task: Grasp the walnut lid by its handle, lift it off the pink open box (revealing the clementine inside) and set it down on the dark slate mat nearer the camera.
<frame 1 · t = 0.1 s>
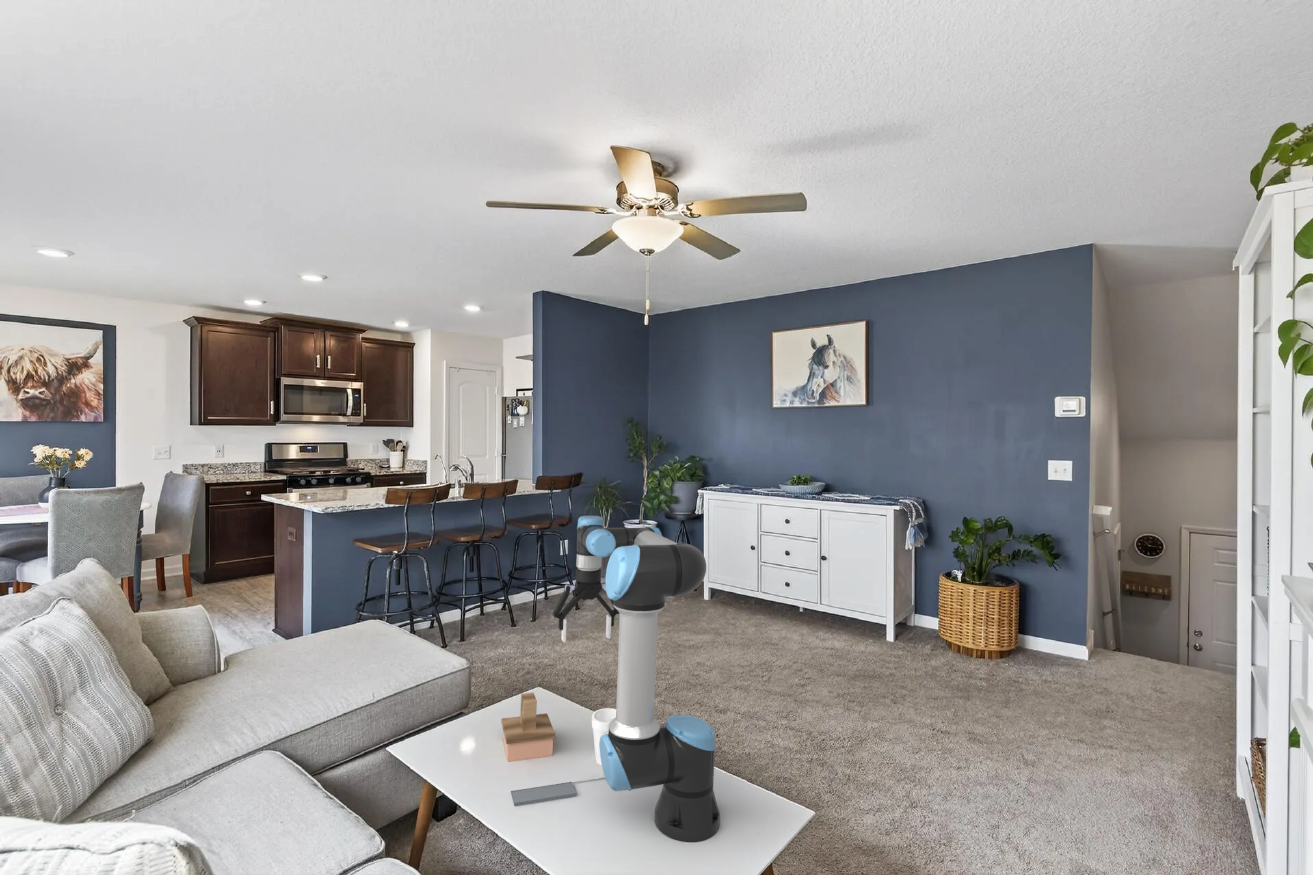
hand: (586, 638, 189), 28 cm above the table, fingers open, 13 cm apart
lid: (527, 730, 176), point 6 cm above the table, touching pink open box
pink open box: (526, 751, 176), on the table
clementine: (527, 747, 176), point 1 cm above the table, touching pink open box
mat: (540, 782, 161), on the table
foam cup: (607, 763, 172), on the table
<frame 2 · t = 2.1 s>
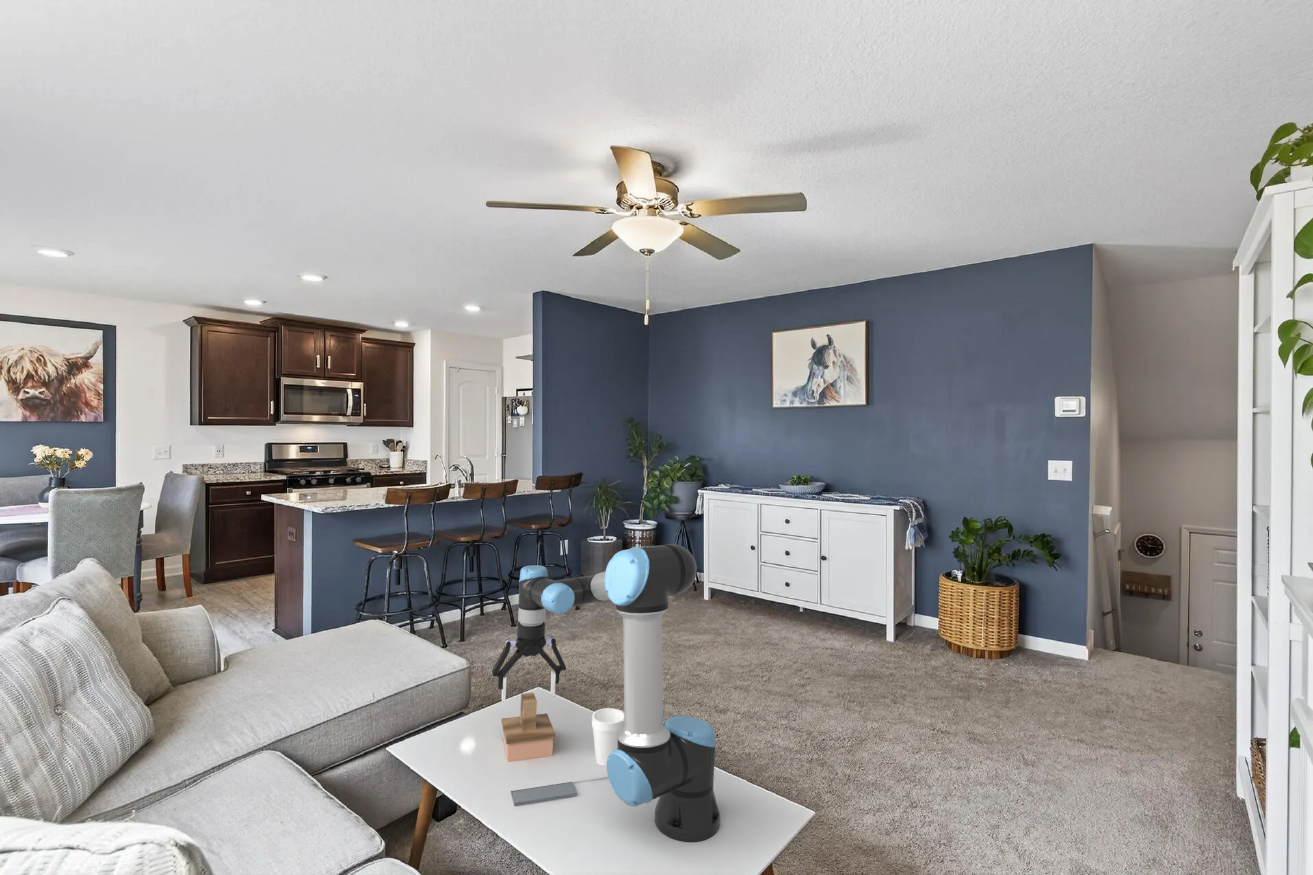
hand: (528, 697, 176), 15 cm above the table, fingers open, 13 cm apart
nothing on the table moved.
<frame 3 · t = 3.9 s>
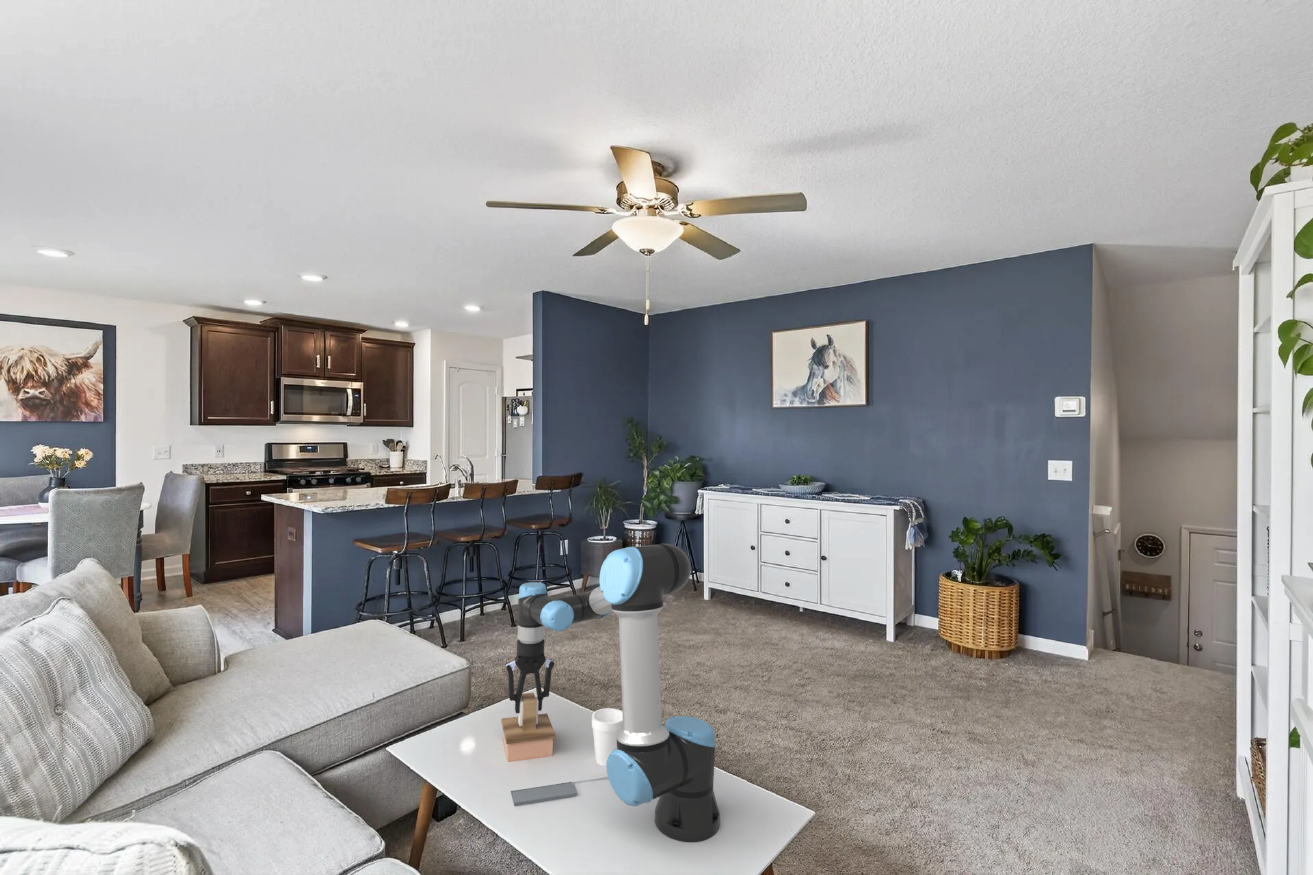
hand: (527, 722, 176), 8 cm above the table, fingers closed on lid, 3 cm apart
lid: (527, 730, 176), point 6 cm above the table, touching pink open box, gripper
everything else where it was.
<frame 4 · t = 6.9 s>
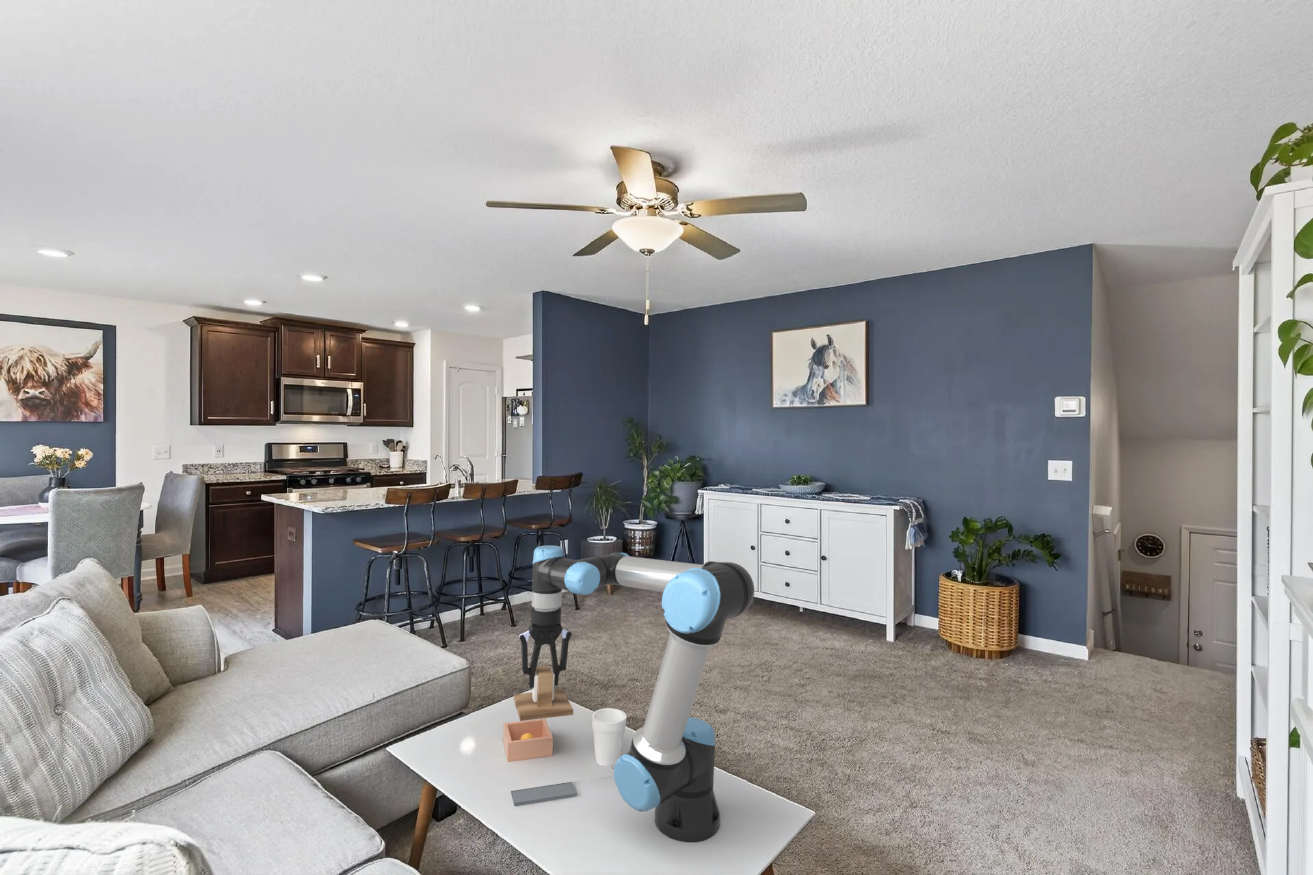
hand: (543, 698, 161), 21 cm above the table, fingers closed on lid, 3 cm apart
lid: (542, 706, 161), point 19 cm above the table, touching gripper
everything else where it was.
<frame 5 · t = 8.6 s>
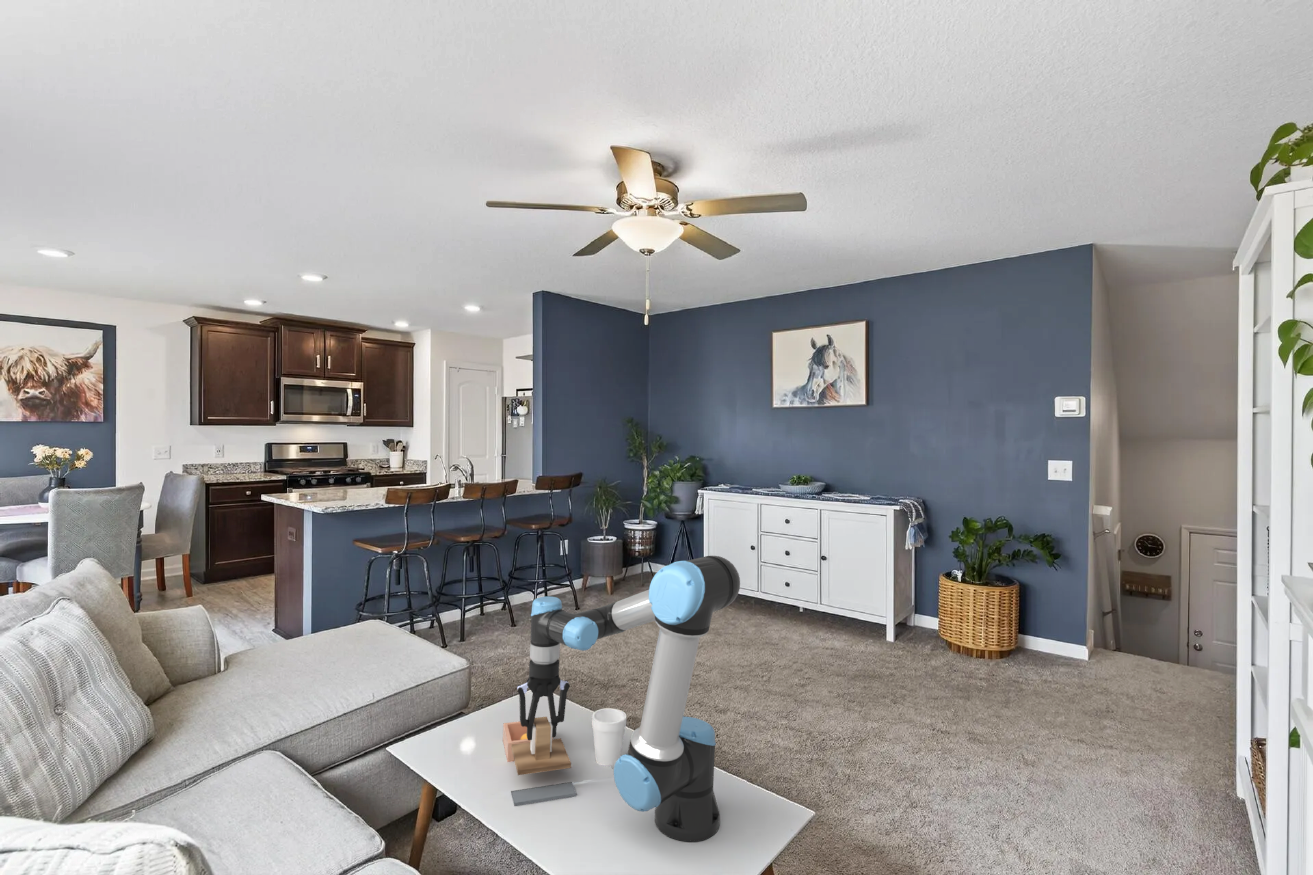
hand: (540, 750, 161), 8 cm above the table, fingers closed on lid, 3 cm apart
lid: (540, 758, 161), point 6 cm above the table, touching gripper
everything else where it was.
when the fingers open (5 cm above the table, at t = 9.9 s): lid drops 2 cm, resting on mat.
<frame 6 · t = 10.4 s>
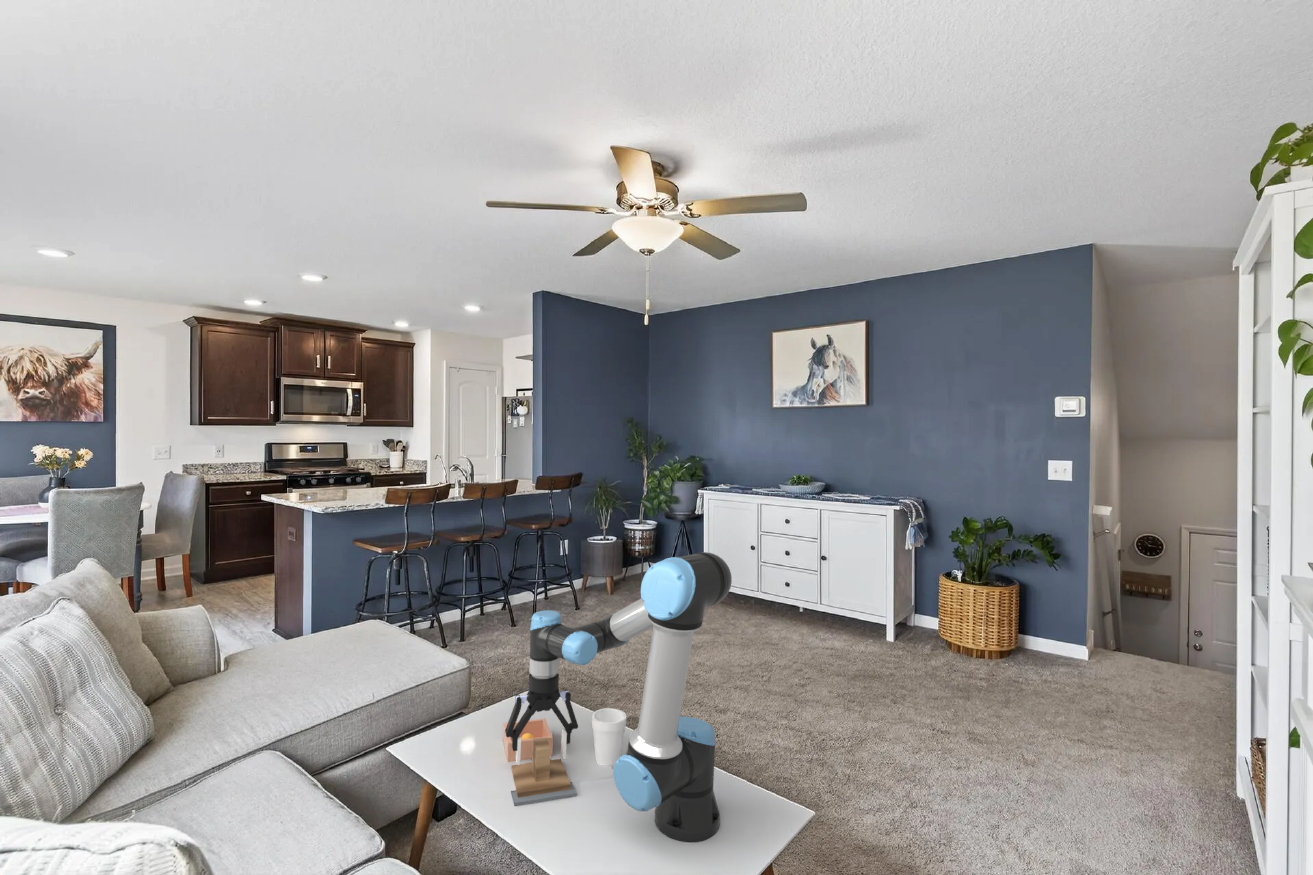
hand: (540, 759, 161), 6 cm above the table, fingers open, 11 cm apart
lid: (540, 779, 161), point 1 cm above the table, touching mat
everything else where it was.
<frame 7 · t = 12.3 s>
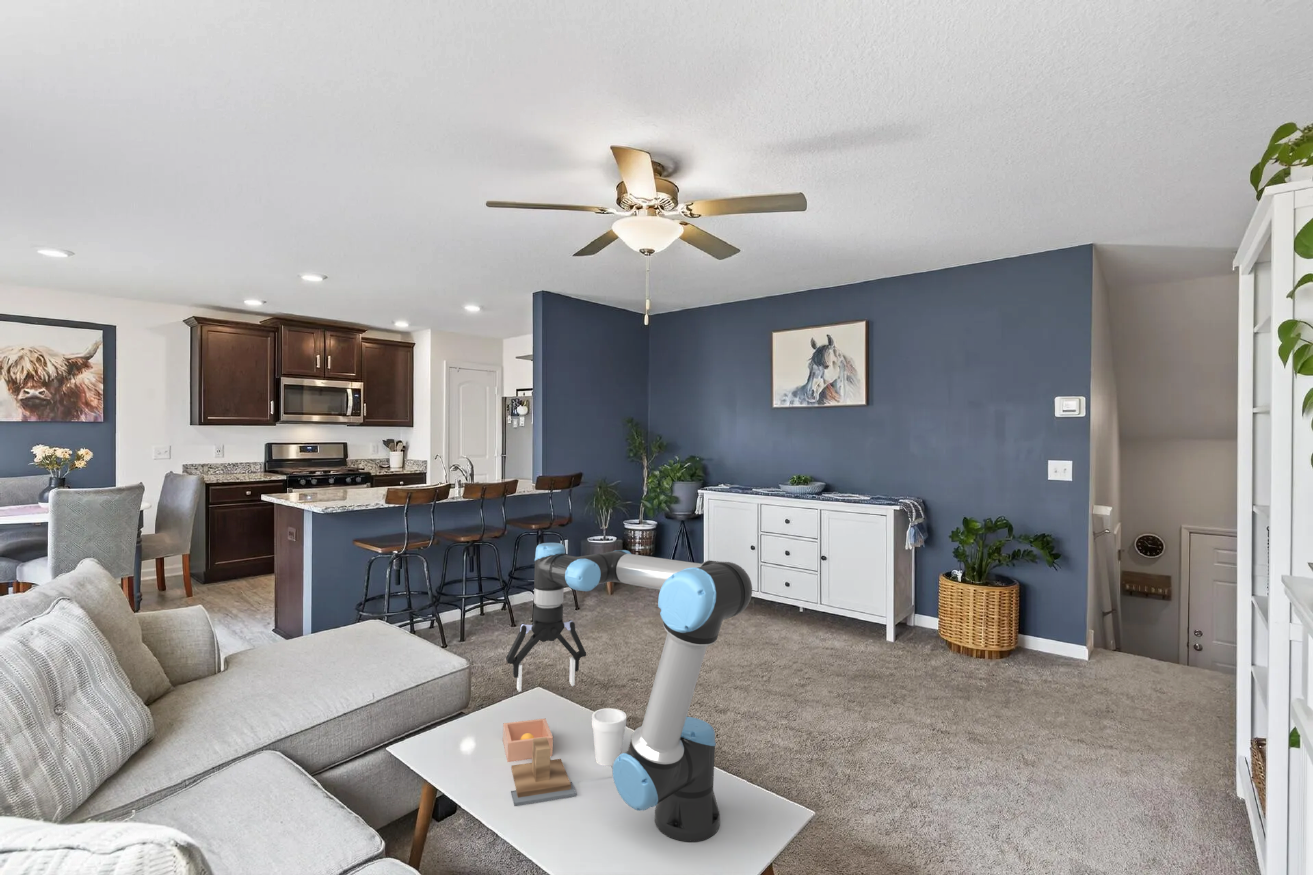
hand: (545, 686, 162), 24 cm above the table, fingers open, 13 cm apart
nothing on the table moved.
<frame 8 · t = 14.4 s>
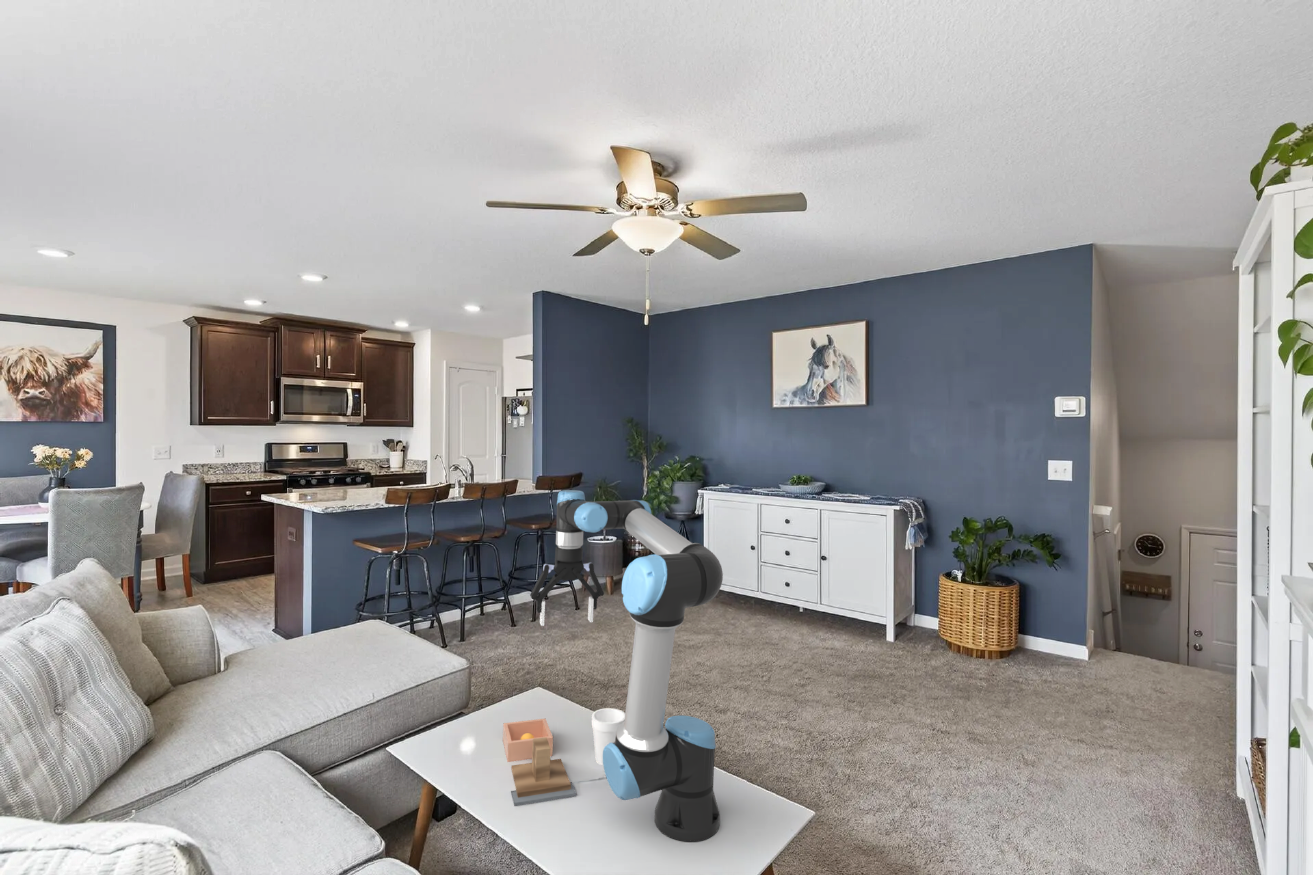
hand: (566, 622, 175), 37 cm above the table, fingers open, 13 cm apart
nothing on the table moved.
at the end: lid inside the target area on the mat (0.0 cm from its centre), point 0.8 cm above the mat's base; lid tilted 0°; lid touching mat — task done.
